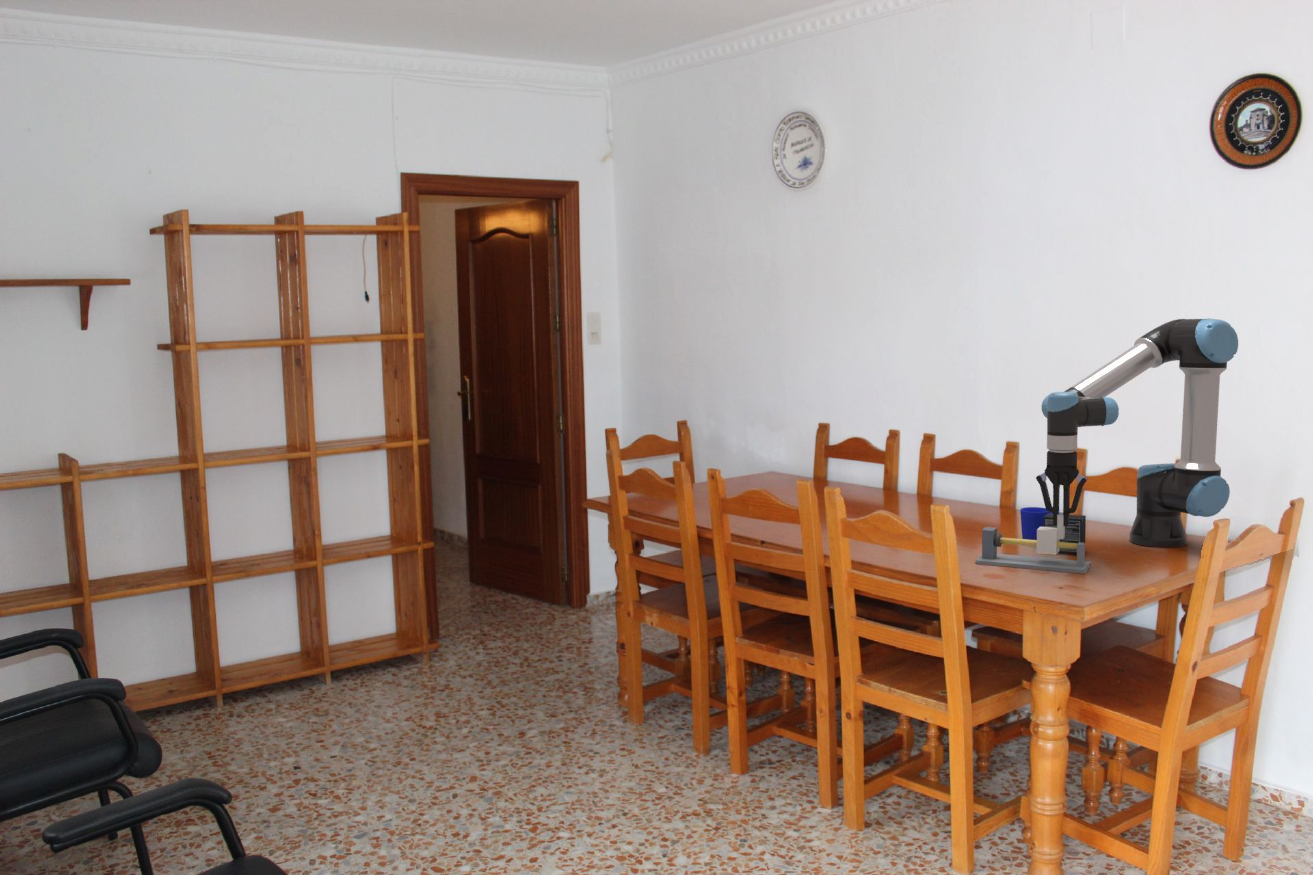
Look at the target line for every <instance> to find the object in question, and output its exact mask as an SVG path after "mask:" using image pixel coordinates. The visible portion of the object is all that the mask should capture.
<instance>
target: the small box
mask: <svg viewBox="0 0 1313 875" xmlns="http://www.w3.org/2000/svg"><path fill="white" fill-rule="evenodd" d="M1086 518H1087V516H1086V515H1080V514H1079V515H1078V514H1069V525H1068V526H1065V537H1064V539H1060V540H1059V542H1065V543H1079V542H1080V543H1085V544H1086V530H1087V529H1086V528H1087V526H1086V525H1087V523H1086ZM1044 527H1053V528H1057V526H1054V525H1053V514H1050V513H1048V514H1047V515H1045V516H1044ZM1057 554H1060V555H1061V554H1062V555H1063V554H1065V555H1076V556H1077V549H1065V548H1059V552H1058V553H1057Z"/></svg>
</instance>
